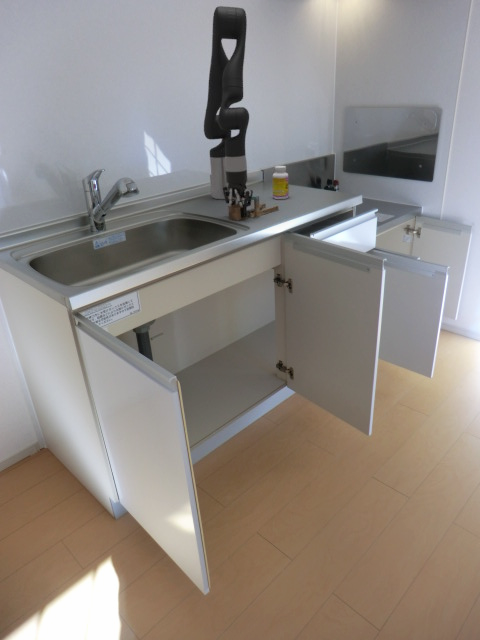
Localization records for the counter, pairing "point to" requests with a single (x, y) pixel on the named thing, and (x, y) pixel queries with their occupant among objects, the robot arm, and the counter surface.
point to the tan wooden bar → (251, 210)
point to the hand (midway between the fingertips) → (238, 216)
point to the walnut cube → (235, 212)
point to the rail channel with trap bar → (256, 208)
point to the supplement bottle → (280, 183)
